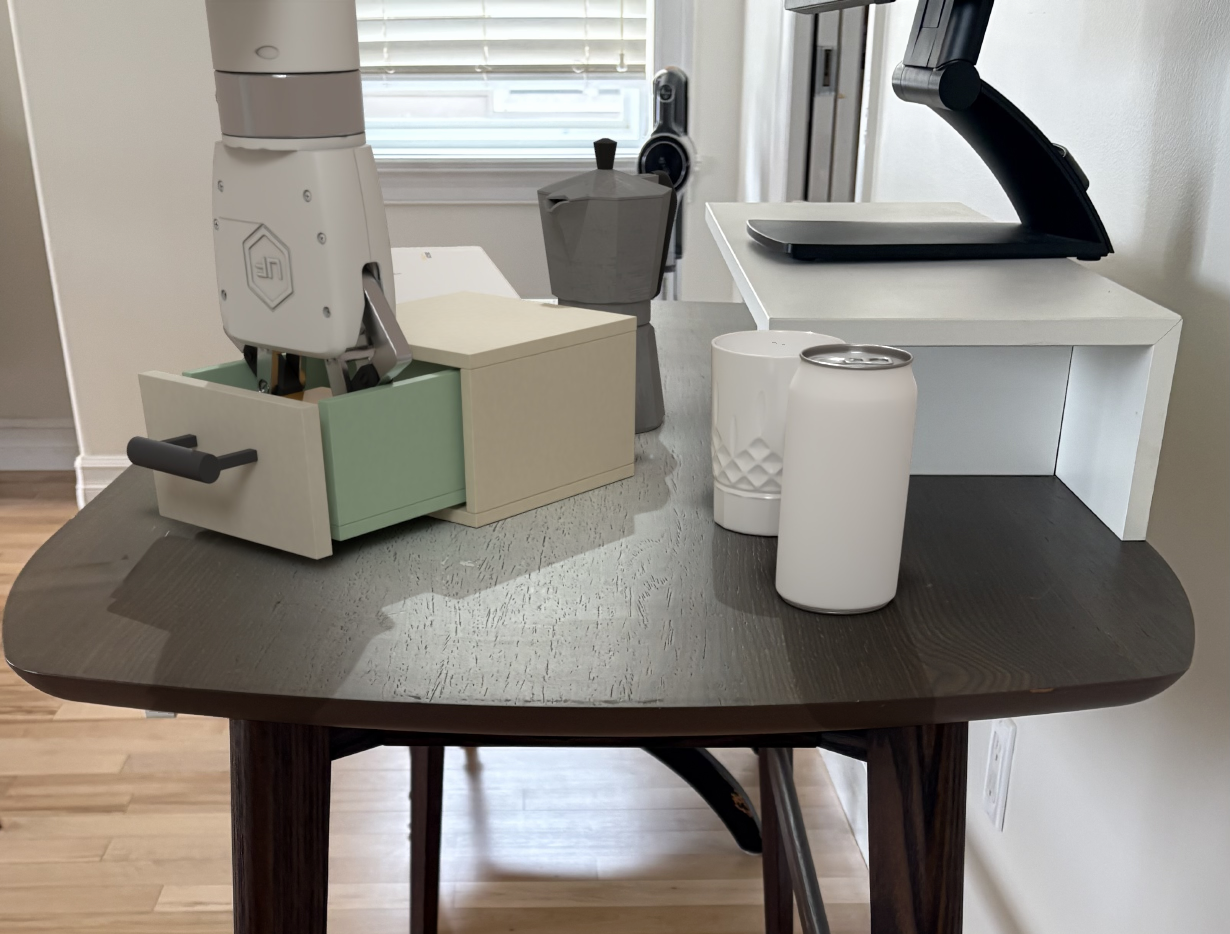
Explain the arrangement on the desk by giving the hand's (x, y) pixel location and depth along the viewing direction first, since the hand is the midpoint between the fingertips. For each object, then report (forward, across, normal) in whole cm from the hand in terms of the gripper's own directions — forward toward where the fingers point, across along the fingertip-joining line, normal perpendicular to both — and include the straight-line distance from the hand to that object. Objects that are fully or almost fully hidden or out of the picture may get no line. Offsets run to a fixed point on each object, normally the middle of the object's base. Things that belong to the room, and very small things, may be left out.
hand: (327, 471), depth 93 cm
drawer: (+2, 0, -2) cm, 3 cm away
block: (0, 0, 0) cm, 0 cm away
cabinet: (+3, 0, +13) cm, 13 cm away
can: (+3, +31, +8) cm, 32 cm away
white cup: (+3, +20, +17) cm, 27 cm away
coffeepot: (+3, -4, +32) cm, 33 cm away
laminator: (+3, -28, +41) cm, 50 cm away
